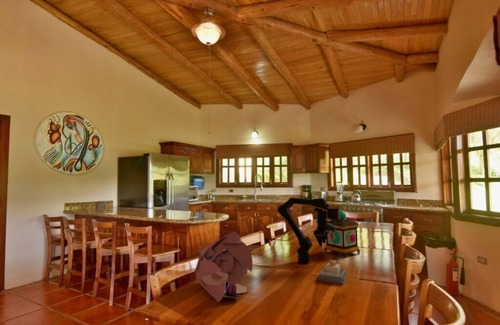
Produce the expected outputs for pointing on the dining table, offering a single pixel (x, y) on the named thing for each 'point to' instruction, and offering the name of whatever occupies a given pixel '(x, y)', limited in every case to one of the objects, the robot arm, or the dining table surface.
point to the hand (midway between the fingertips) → (322, 244)
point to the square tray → (333, 276)
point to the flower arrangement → (224, 267)
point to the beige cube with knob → (333, 267)
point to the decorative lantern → (342, 236)
